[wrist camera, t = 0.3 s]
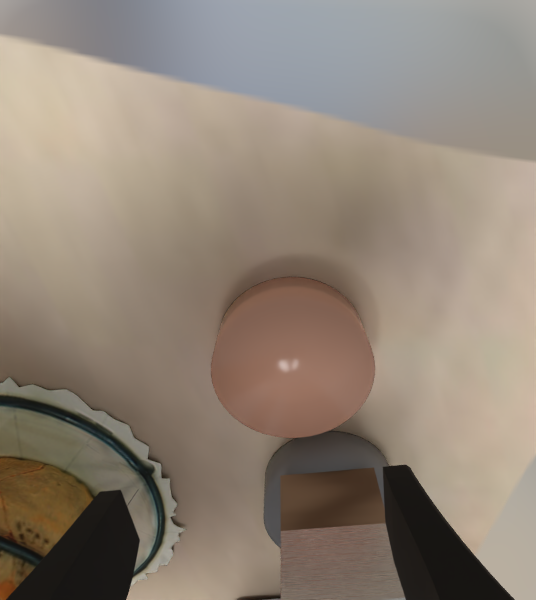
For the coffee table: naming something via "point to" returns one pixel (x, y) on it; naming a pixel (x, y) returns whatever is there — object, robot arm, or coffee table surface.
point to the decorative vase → (71, 479)
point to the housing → (335, 538)
